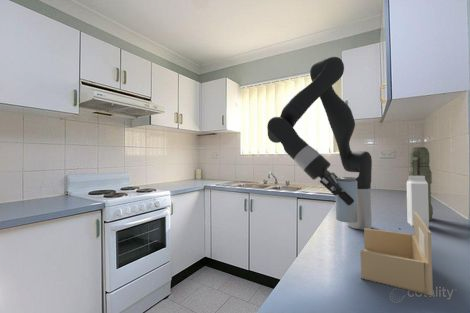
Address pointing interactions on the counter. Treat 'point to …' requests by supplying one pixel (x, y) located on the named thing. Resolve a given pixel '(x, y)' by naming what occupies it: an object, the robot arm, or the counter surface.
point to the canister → (342, 209)
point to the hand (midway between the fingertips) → (352, 201)
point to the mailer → (399, 258)
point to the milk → (417, 199)
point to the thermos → (422, 169)
